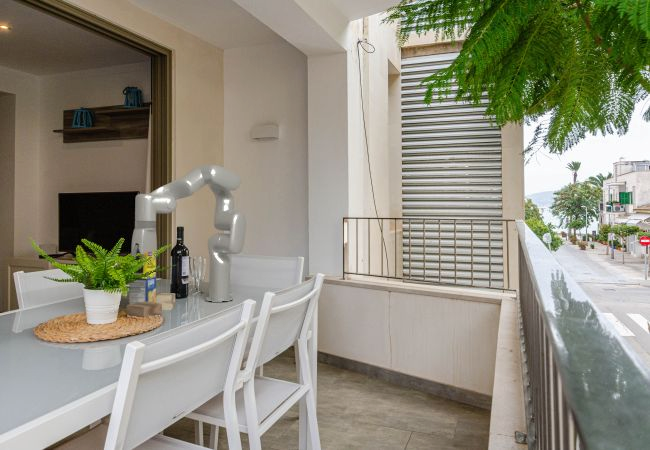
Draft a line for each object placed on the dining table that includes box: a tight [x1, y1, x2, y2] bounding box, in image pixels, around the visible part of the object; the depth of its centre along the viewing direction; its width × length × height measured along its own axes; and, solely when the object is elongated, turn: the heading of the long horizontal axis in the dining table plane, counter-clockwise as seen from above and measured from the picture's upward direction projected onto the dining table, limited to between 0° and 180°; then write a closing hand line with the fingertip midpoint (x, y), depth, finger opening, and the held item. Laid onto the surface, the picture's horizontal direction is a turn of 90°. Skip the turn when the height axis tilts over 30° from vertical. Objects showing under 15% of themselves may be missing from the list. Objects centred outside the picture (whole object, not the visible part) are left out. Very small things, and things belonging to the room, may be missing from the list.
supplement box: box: [135, 252, 157, 281], centre depth 171 cm, size 6×6×11 cm
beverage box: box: [128, 271, 157, 305], centre depth 189 cm, size 7×11×22 cm, turn 179°
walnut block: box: [125, 301, 163, 318], centre depth 171 cm, size 9×9×5 cm
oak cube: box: [156, 292, 176, 311], centre depth 187 cm, size 6×6×6 cm
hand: (144, 271), depth 171 cm, fingers closed on supplement box, 6 cm apart
